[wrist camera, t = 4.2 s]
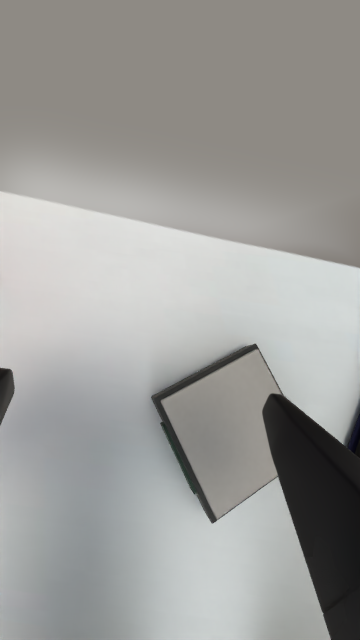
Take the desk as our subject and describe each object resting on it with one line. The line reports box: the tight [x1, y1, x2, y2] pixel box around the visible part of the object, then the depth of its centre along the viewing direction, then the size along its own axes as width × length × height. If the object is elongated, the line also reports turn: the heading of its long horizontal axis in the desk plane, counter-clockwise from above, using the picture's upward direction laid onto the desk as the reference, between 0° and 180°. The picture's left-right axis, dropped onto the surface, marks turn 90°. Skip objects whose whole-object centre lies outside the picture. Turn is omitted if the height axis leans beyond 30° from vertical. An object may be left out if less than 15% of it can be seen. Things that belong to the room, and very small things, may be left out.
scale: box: [151, 344, 284, 523], centre depth 22 cm, size 10×10×3 cm
